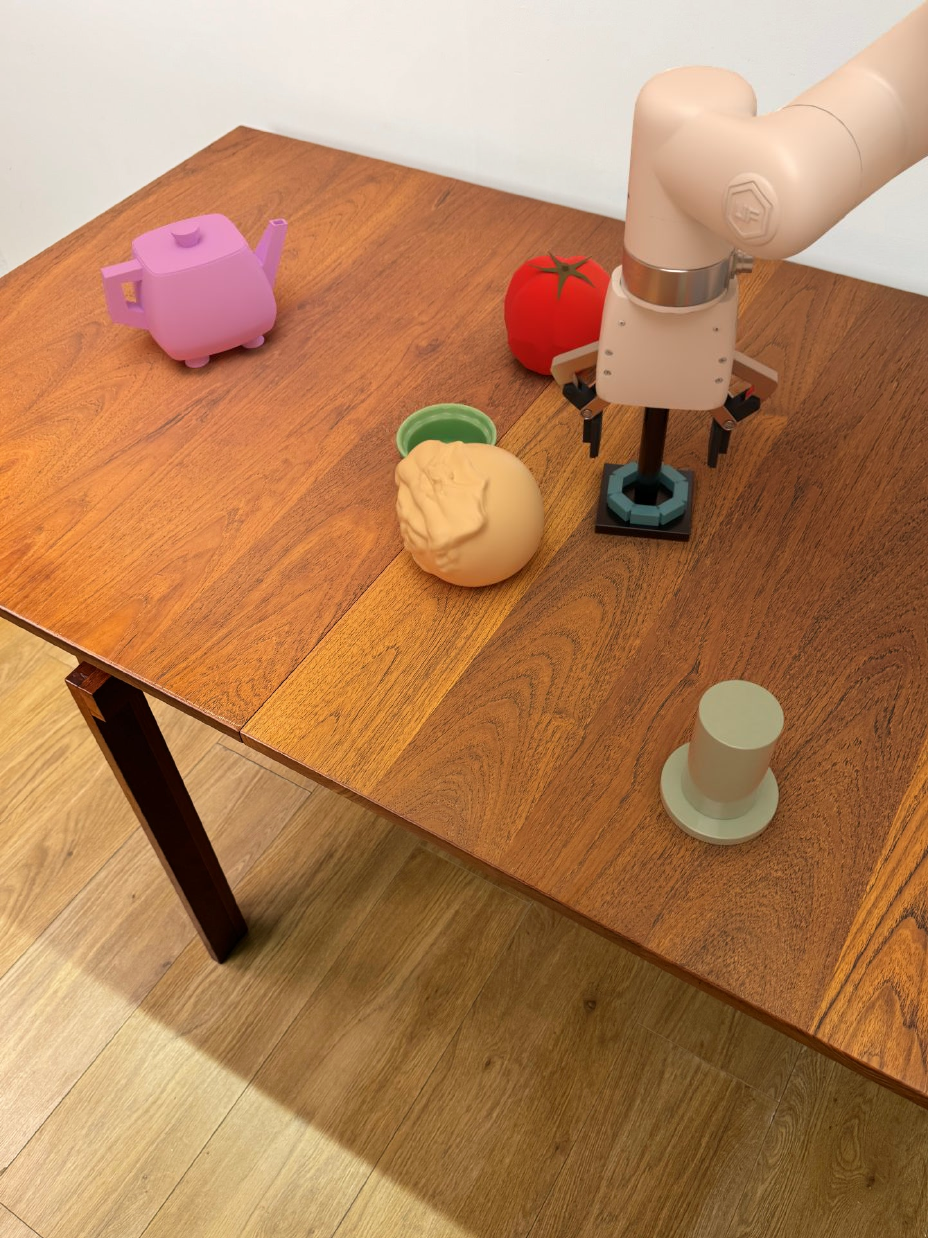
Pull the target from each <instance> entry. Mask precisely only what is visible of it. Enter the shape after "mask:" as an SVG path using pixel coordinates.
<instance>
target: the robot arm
mask: <svg viewBox="0 0 928 1238" xmlns="http://www.w3.org/2000/svg"><path fill="white" fill-rule="evenodd" d="M633 109H634V111H633V119H632V131H631V143H630V156H629V168H628V183H627V195H626V209H625V220H624V221H625V222H624V234H623V245H622V246H623V247H622V261H621V264H620V265H618V266H616V267H615V268H614V269H613V271H612V273H611V276H610V278H611V279H610V282H609V286H608V290H607V294H606V298H605V303H604V309H603V315H602V323H601V331H600V338H599V341H596V342H594V343H591V344H588V345H585V346H583V347H580V348H577V349H575V350H572V351H569V352H566V353H564V354H561V355H558V356H556V357H554V358H553V360H552V365H551V370H550V371H551V373H552V375H551V376H553V378H554V380H555V382H556V384H557V385H558V387H560V389H561V394H562V396H563V398H565V399H566V400H567V401H568V402H569V403H570V404H571V405H572V406H574V407H575V408H576V409H577V410H578V411H579V416H580V418H581V419H583V424H582V425H583V426H582V443H583V444H589V459H596V458H599V453H600V446H601V441H602V432H603V419H604V409H606V408H607V407H608V406H610V405H611V404H614V405H621V406H631V407H643V408H644V407H654V408H668V409H670V410H682V411H683V410H684V411H685V410H686V411H707V412H709V414H710V415H711V416H712V419H711V426H710V431H709V435H708V443H707V460H706V466H707V467H709V469H717V465H718V461H719V460H718V459H719V455H720V454H721V455H727V454H728V449H729V443H730V440H731V434H732V431H733V430H735V429H736V428H737V426H738V423H739V422H741V421H743V420H745V419H746V418H747V417H749V416H751V415H753V414H754V413H756V412H758V411H759V410H760V408H761V405H762V404H763V403H764V402H766V401H767V400H768V399H769V398H770V396H771V395H773V393H774V392H775V391H776V390H777V389H778V387H779V373H778V372H777V371H776V370H774V369H772V368H770V367H769V366H767V365H765V364H763V363H761V362H760V361H757V360H756V359H754V358H752V357H750V356H748V355H746V354H744V353H743V352H742V351H741V352H740V351H738V350H736V342H737V341H736V340H737V332H738V324H739V323H738V322H739V305H740V302H739V301H740V295H739V293H740V292H739V290H740V289H739V280H738V277H737V276H740V275H741V274H752V273H753V268H754V263H755V262H754V261H755V258H756V259H760V260H766V261H781V260H786V259H788V258H792V257H793V256H796V255H798V254H800V253H802V252H803V251H805V250H807V249H808V248H809V247H811V246H812V245H813V244H814V243H816V242H817V241H818V240H819V239H821V238H822V237H823V236H824V235H826V234H827V233H828V232H829V231H830V230H832V229H833V228H834V227H836V225H837V224H839V223H840V222H841V221H843V219H845V218H846V217H847V215H849V214H850V213H851V212H852V211H853V210H855V209H856V208H857V207H858V206H860V205H861V204H862V203H863V202H865V201H866V200H867V199H869V198H871V196H872V195H874V194H875V193H876V192H878V191H879V190H880V189H882V188H883V187H884V186H885V185H887V184H888V183H890V182H891V181H892V180H893V179H895V178H896V177H898V176H899V175H901V174H902V173H904V172H905V171H907V170H908V169H910V168H911V167H913V166H914V165H916V164H917V163H919V162H921V161H922V160H923V159H925V158H927V157H928V0H925V1H924V2H923V3H921V4H920V5H918V7H916V8H915V9H914V10H912V11H911V12H910V13H908V15H906V16H905V17H904V18H902V19H901V20H899V21H898V22H897V23H896V24H894V25H893V26H892V27H891V28H890V29H888V30H887V31H885V32H884V33H883V34H882V35H881V36H879V37H878V38H877V39H875V40H874V41H873V42H871V43H870V44H869V45H868V46H866V47H865V48H863V49H862V50H861V51H859V52H858V53H857V54H855V55H854V56H853V57H852V58H850V59H849V60H847V61H846V62H845V63H844V64H842V65H841V66H839V67H838V68H837V69H836V70H834V71H833V72H832V73H830V74H828V75H827V76H826V77H824V78H823V79H821V80H820V81H819V82H817V83H816V84H814V85H813V86H811V87H809V88H808V89H806V90H805V91H803V92H801V93H800V94H799V95H797V96H796V97H795V98H793V99H791V100H790V101H788V102H787V103H785V104H784V105H782V106H781V107H780V108H778V109H777V110H773V111H770V112H766V113H763V114H760V115H758V99H757V96H756V92H755V90H754V88H753V86H752V85H751V83H750V82H749V81H748V80H747V79H746V78H744V77H743V76H742V75H741V74H739V73H737V72H735V71H732V70H729V69H726V68H723V67H718V66H711V65H699V64H697V65H684V66H683V65H682V66H677V67H672V68H668V69H665V70H663V71H661V72H658V73H656V75H654V76H652V77H651V78H649V79H648V80H647V81H646V82H645V83H644V84H643V86H642V88H641V89H640V90H639V92H638V94H637V97H636V101H635V103H634V108H633ZM593 366H596V368H595V380H593V381H592V382H591V383H589V385H588V384H586V383H585V382H584V380H582V379H581V378H580V376H578V375H576V374H574V373H575V372H577V371H580V370H583V369H585V368H586V369H589V368H591V367H593ZM586 369H585V370H586ZM583 371H584V370H583ZM732 376H734V377H736V378H739V379H741V380H743V381H744V382H746V383H748V384H750V385H751V386H750V387H748V388H745V390H743V391H741V392H740V393H738V394H736V395H735V396H734V394H733V393H732V392H731V391H730V384H731V379H732Z"/></svg>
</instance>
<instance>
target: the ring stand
mask: <svg viewBox="0 0 928 1238" xmlns="http://www.w3.org/2000/svg"><path fill="white" fill-rule="evenodd" d="M784 726H785V715H784V711H783V708H782V705H781V704H780V702H779V701H778V699H777V698H776V696H774V695H773V694H772V693H771V692H770V691H769V690H768V689H766V688H764V686H761V685H759V684H756V683H755V682H752V681H749V680H742V679H730V680H729V679H728V680H724V681H720V682H718V683H716V684H714V685H712V686H711V687H709V688H708V689H707V690H706V691H705V692H704V693H703V695H702V696H701V698H700V700H699V703H698V707H697V711H696V715H695V720H694V724H693V728H692V733H691V737H690V741H688V742H686V743H683V744H682V745H680V746H679V747H677V748H676V749H675V750H673V752H672V753H671V754H670V755H669V756H668V758H667V759H666V760H665V763H664V765H663V766H662V771H661V773H660V774H661V775H660V778H659V779H660V780H659V797H660V801H661V804H662V806H663V809H664V811H665V813H666V814H667V816H668V817H669V819H670V820H671V821H672V822H673V823H674V825H676V827H678V828H679V829H680V830H681V831H682V832H684V833H685V834H687V835H689V836H690V837H692V838H694V839H696V840H697V841H701V842H702V843H703V842H704V843H707V844H711V845H716V846H733V845H740V844H744V843H746V842H750V841H751V840H754V839H755V838H757V837H758V836H760V835H761V834H762V833H763V832H765V830H766V829H767V828H768V827H769V826H770V824H771V822H772V821H773V819H774V816H775V813H776V811H777V809H778V804H779V796H780V793H779V786H778V782H777V779H776V777H775V774H774V772H773V771H772V768H771V767H770V765H771V762H772V759H773V757H774V754H775V751H776V748H777V746H778V743H779V740H780V737H781V734H782V732H783V730H784V729H783V728H784Z"/></svg>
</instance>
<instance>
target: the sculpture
mask: <svg viewBox="0 0 928 1238" xmlns="http://www.w3.org/2000/svg"><path fill="white" fill-rule="evenodd" d="M394 483H395V485H396V487H397V490H398V492H397V496H396V497H397V500H396V502H395V510H396V514H397V519H398V523H399V526H400V527H399V532H400V536H401V537H402V538H403V539H404V541H403V548H404V550H405V551H407V552H409V553H410V554H411V558H412V559H413V561H414V562H415V563H416V565H418V567H420V569H421V570H422V571H423V572H425V573H426V574H427V573H428V574H432V575H434V576H436V577H437V578H438V579H440V580H442V581H444V582H446V583H449V584H452V585H455V586H459V587H460V586H461V587H470V588H474V587H475V588H478V587H485V586H490V585H494V584H497V583H500V582H502V581H504V580H506V579H508V578H510V577H512V576H513V575H515V574H516V573H518V572H519V571H520V570H521V569H523V568H524V567H525V566H526V565H527V564H528V563H529V561H530V560H531V559H532V558H533V556H534V555H535V553H536V552H537V550H538V548H539V546H540V543H541V542H542V541H541V540H542V537H543V534H544V531H545V530H544V529H545V505H544V501H543V500H544V499H543V496H542V493H541V490H540V487H539V485H538V483H537V481H536V479H535V477H534V475H533V473H532V472H531V470H530V469H529V468H528V467H527V465H526V464H524V463H523V462H522V460H520V458H518V457H517V456H515V454H513V453H512V452H509V451H508V450H506V449H504V448H502V447H500V446H496V445H495V446H493V445H489V444H482V443H467V444H464V443H463V442H461V441H456V442H453V443H448V444H446V443H442V442H441V441H439V440H427V441H424V442H422V443H420V444H419V445H417V446H416V447H415V448H414V449H413V450H412V451H411V452H410V453H409V454H408V456H407V457H406V458H404V459H403V460H402V459H401V460H400V461H399V462H398V464H397V465H396V467H395V471H394Z"/></svg>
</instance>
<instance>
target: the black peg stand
mask: <svg viewBox="0 0 928 1238" xmlns="http://www.w3.org/2000/svg"><path fill="white" fill-rule="evenodd" d="M643 408H644V410H643V416H642V425H641V434H640V442H639V450H638V451H639V452H638V460H637V461H638V467H637V476H636V480H635V481H634V482H632V483H630V484H628V485H626V486H624V487H623V488H622V494H624V495H625V496H626V497H627V498H628V499H629V500H631V501H632V502H633V503H634V504H637V505H647V506H659V505H661V504H662V503H664V502H666V501H668V500H670V499H671V498H672V497H673V492H672V491H671V490H669V489H668V488H667V487H666V486H665V485H663V484H662V483H661V482H660V475H661V468H662V463H663V459H664V454H665V446H666V439H667V431H668V424H669V419H670V418H669V417H670V411H671V409H668V408H654V407H643ZM625 465H626V464H622V463H621V464H620V463H609V462H604V463H603V469H602V476H601V483H600V488H599V489H600V490H599V497H598V505H597V512H596V518H595V524H594V533H595V534H602V535H603V534H604V535H614V536H623V537H624V536H625V537H633V538H634V537H635V538H645V539H657V540H666V541H675V542H686V543H688V542H690V536H691V526H692V508H693V493H694V492H693V490H694V474H695V471H694V470H689V469H679V468H678V469H677V468H674V469H675V470H676V471H677V472H679V473H680V474H681V475H683V476H684V477H685V478H686V479H687V480H686V482H688V497H687V505H686V510H684V513H683V514H681V515H680V516H678V517H676V518H674V519H673V520H671V521H669V522H667V523H666V524H664V525H662V524H661V523H659V524H658V526H652V525H642V524H632V523H630V519H629V520H628V521H625V520H624V519H622V518H621V517H620V516H619V515H618V514H617V513H615V512H614V511H613V510H612V509H611V508H610V507H609V506H608V503H607V492H608V485H609V478H610V475H612V472H614V471H615V470H617V469H619V468H621V467H623V466H625Z"/></svg>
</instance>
